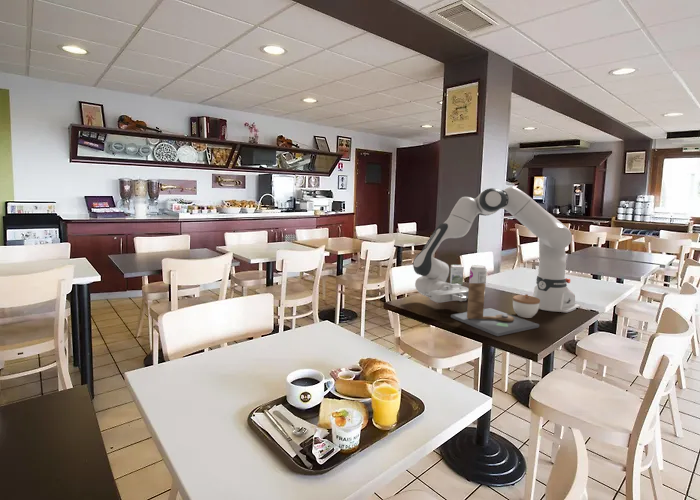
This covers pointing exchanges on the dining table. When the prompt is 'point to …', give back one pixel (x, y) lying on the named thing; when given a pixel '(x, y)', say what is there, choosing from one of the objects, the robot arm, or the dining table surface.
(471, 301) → the tuning key
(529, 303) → the lidded jar
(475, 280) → the supplement can
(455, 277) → the syrup box
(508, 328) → the board
